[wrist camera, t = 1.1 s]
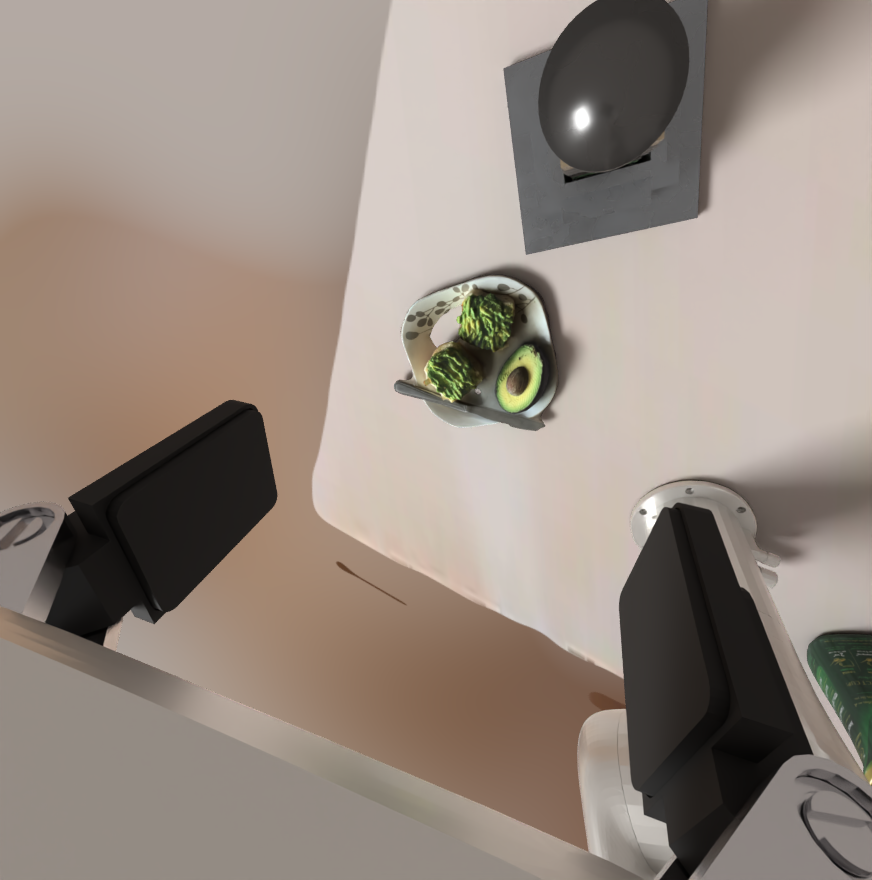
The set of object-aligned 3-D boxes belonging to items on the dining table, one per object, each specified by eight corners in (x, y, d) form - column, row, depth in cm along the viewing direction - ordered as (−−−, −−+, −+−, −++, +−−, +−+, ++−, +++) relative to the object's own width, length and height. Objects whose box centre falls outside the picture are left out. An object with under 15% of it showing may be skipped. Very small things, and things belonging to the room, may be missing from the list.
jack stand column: (637, 91, 31) (692, -41, 13) (637, 171, 33) (686, 149, 16) (565, 115, 33) (530, 27, 15) (570, 189, 35) (545, 187, 18)
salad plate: (419, 438, 56) (406, 456, 52) (372, 305, 48) (353, 315, 45) (568, 419, 48) (566, 439, 44) (539, 258, 40) (534, 265, 37)
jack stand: (705, -7, 29) (769, -123, 18) (695, 216, 35) (738, 228, 24) (505, 71, 34) (465, 17, 23) (527, 253, 40) (503, 275, 30)
